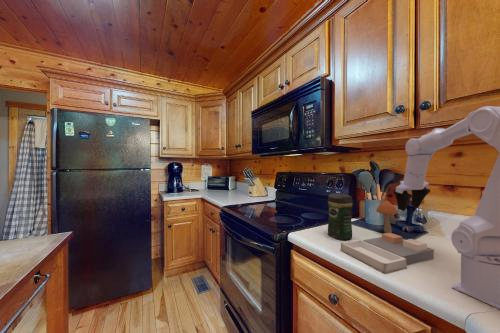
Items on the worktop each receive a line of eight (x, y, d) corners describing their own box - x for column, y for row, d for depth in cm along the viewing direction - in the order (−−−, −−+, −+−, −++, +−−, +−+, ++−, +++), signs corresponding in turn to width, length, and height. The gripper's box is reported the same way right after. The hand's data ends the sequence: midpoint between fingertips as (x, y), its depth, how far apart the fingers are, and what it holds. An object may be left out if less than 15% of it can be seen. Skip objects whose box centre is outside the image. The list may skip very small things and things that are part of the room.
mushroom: (371, 231, 93) (372, 199, 93) (383, 229, 96) (384, 198, 95) (389, 237, 85) (389, 202, 85) (401, 235, 88) (401, 201, 88)
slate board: (433, 258, 66) (433, 249, 66) (402, 266, 61) (402, 256, 61) (391, 242, 79) (391, 235, 79) (363, 248, 74) (363, 240, 74)
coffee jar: (356, 239, 83) (356, 194, 83) (341, 241, 81) (341, 195, 80) (338, 231, 92) (338, 191, 92) (324, 234, 90) (324, 192, 89)
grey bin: (406, 268, 60) (406, 258, 60) (384, 273, 57) (384, 264, 57) (359, 246, 75) (359, 239, 75) (340, 250, 72) (340, 242, 72)
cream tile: (426, 249, 66) (426, 243, 66) (417, 251, 65) (417, 245, 65) (411, 244, 70) (411, 238, 70) (403, 246, 69) (403, 240, 69)
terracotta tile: (402, 242, 72) (402, 236, 72) (393, 243, 71) (393, 238, 71) (390, 237, 77) (390, 232, 77) (381, 239, 75) (381, 234, 75)
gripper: (416, 167, 77) (410, 200, 80) (389, 172, 72) (384, 206, 75) (438, 172, 70) (430, 207, 74) (410, 177, 65) (403, 215, 69)
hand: (408, 207), depth 74 cm, fingers open, 7 cm apart
